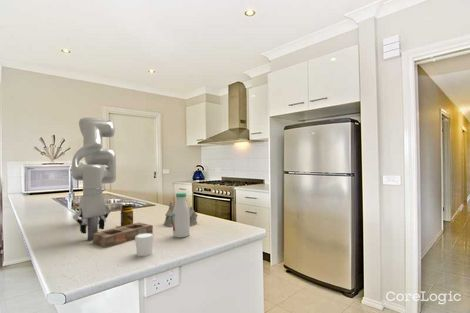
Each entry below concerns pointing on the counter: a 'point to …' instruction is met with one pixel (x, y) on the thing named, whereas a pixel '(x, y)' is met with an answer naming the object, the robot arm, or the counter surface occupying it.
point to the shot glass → (144, 244)
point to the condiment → (126, 215)
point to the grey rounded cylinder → (92, 227)
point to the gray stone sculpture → (170, 216)
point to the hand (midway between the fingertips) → (92, 230)
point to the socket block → (121, 234)
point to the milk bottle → (181, 217)
